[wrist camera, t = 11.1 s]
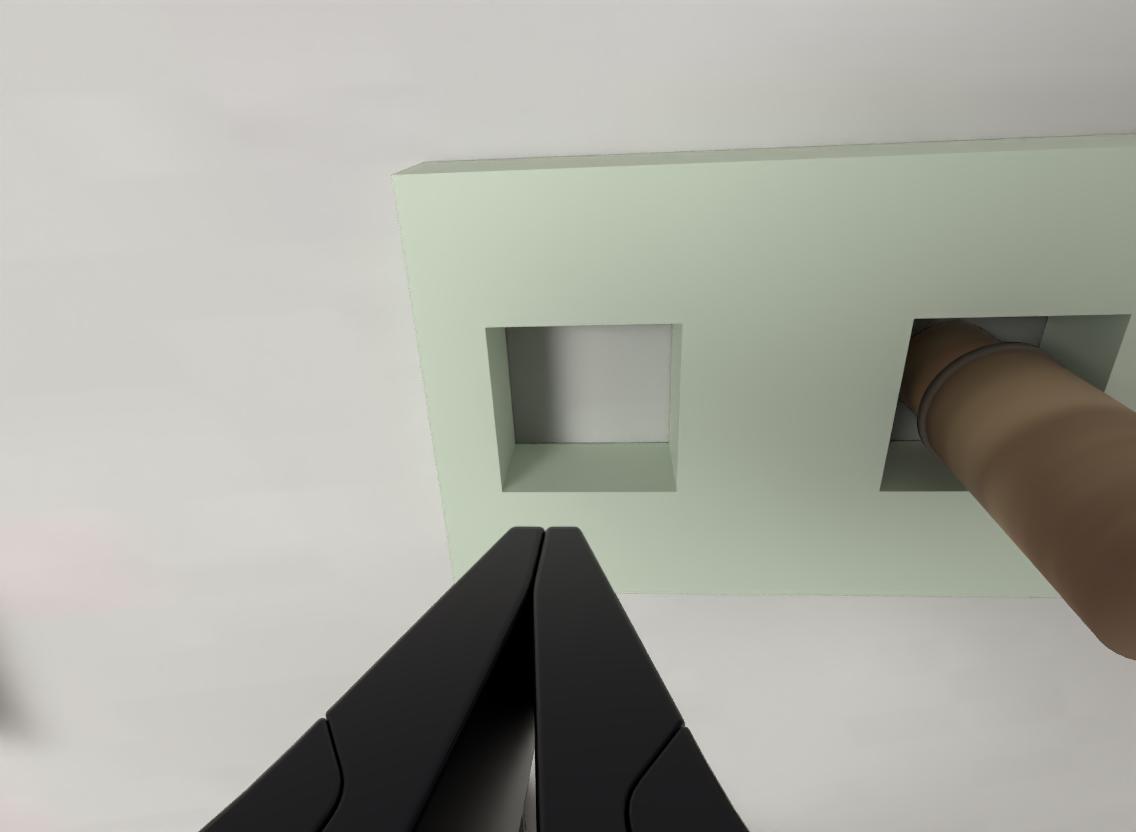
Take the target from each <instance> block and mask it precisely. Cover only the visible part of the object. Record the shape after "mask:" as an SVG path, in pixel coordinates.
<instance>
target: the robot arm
mask: <svg viewBox="0 0 1136 832" xmlns="http://www.w3.org/2000/svg"><path fill="white" fill-rule="evenodd" d="M326 720H327V721H326ZM534 749H535V779H536V825H537V832H750V831H749V830H748V828H747V827H746V825H745V824H744V822H743V821H742V819H741V818H740V816H739V815H738V813H737V812H736V810H735V809H734V807H733V805H732V804H731V802H730V800H729V799H728V797H727V795H726V794H725V792H724V790H723V788H722V787H721V785H720V783H719V782H718V780H717V778H716V776H715V775H714V773H713V771H712V770H711V768H710V766H709V765H708V763H707V761H706V759H705V758H704V756H703V754H702V752H701V750H700V748H699V746H698V745H697V743H696V741H695V739H694V737H693V735H692V733H691V732H690V730H689V729H688V728H687V727H685V722H684V719H683V718H682V716H681V714H680V712H679V710H678V708H677V707H676V705H675V703H674V701H673V699H672V697H671V695H670V694H669V692H668V690H667V688H666V686H665V684H664V682H663V681H662V679H661V677H660V675H659V673H658V671H657V670H656V668H655V666H654V664H653V662H652V660H651V658H650V657H649V655H648V653H647V651H646V649H645V647H644V645H643V644H642V642H641V640H640V638H639V636H638V634H637V633H636V631H635V629H634V627H633V625H632V623H631V621H630V620H629V618H628V616H627V614H626V612H625V610H624V608H623V607H622V605H621V603H620V601H619V599H618V597H617V596H616V594H615V592H614V590H613V588H612V586H611V584H610V583H609V581H608V579H607V577H606V575H605V573H604V571H603V570H602V568H601V566H600V564H599V562H598V560H597V559H596V557H595V555H594V553H593V551H592V549H591V547H590V546H589V544H588V542H587V540H586V538H585V536H584V534H583V533H582V531H581V530H580V528H578V527H575V526H552V527H549V528H547V529H546V531H545V530H544V528H542V527H539V526H516V527H512V528H510V529H509V530H508V531H507V532H506V533H505V534H504V535H503V536H502V537H501V538H500V539H499V540H498V541H497V542H496V543H495V544H494V545H493V546H492V547H491V548H490V549H489V550H488V551H487V552H486V553H485V554H484V555H483V556H482V557H481V558H480V559H479V560H478V561H477V562H476V563H475V564H474V565H473V566H472V567H471V568H470V569H469V570H468V571H467V572H466V573H465V574H464V575H463V576H462V577H461V578H460V579H459V580H458V581H457V582H456V583H455V584H454V585H453V586H452V587H451V588H450V589H449V590H448V591H447V592H446V593H445V594H444V595H443V596H442V597H441V598H440V599H439V600H438V601H437V602H436V603H435V604H434V605H433V606H432V607H431V608H430V609H429V610H428V611H427V612H426V613H425V614H424V615H423V616H422V617H421V618H420V619H419V620H418V621H417V622H416V623H415V624H414V625H413V626H412V627H411V628H410V629H409V630H408V631H407V632H406V633H405V634H404V635H403V636H402V637H401V638H400V639H399V640H398V641H397V642H396V643H395V644H394V645H393V646H392V647H391V648H390V649H389V650H388V651H387V652H386V653H385V654H384V655H383V656H382V657H381V658H380V659H379V660H378V661H377V662H376V663H375V664H374V665H373V666H372V667H371V668H370V669H369V670H368V671H367V672H366V673H365V674H364V675H363V676H362V677H361V678H360V679H359V680H358V681H357V682H356V683H355V684H354V685H353V686H352V687H351V688H350V689H349V690H348V691H347V692H346V693H345V694H344V695H343V696H342V697H341V698H340V699H339V700H338V701H337V702H336V703H335V704H334V705H333V706H332V707H331V708H330V709H329V710H328V711H327V712H326V719H325V718H320V719H319V720H317V721H316V722H315V723H314V724H313V725H312V726H311V727H310V728H309V729H308V730H307V731H306V732H305V733H304V734H303V735H302V736H301V737H300V738H299V739H298V740H297V741H296V742H295V743H294V744H293V745H292V746H291V747H290V748H289V749H288V750H287V751H286V752H285V753H284V754H283V755H282V756H281V757H280V758H279V759H278V760H277V761H276V762H275V763H274V764H273V765H272V766H270V767H269V768H268V769H267V770H266V771H265V772H264V773H263V774H262V775H261V776H260V777H259V778H258V779H257V780H256V781H255V782H254V783H253V784H252V785H251V786H250V787H249V788H247V789H246V790H245V791H244V792H243V793H242V794H241V795H240V796H239V797H237V798H236V799H235V800H234V801H233V802H232V803H231V804H229V805H228V806H227V807H226V808H225V809H224V810H223V811H221V812H220V813H219V814H218V815H217V816H216V817H215V818H214V819H212V820H211V821H210V822H209V823H208V824H207V825H206V826H204V827H203V828H202V829H201V830H200V831H199V832H526V827H525V818H524V809H523V806H524V801H525V796H526V791H527V786H528V780H529V775H530V770H531V765H532V760H533V754H534Z"/></svg>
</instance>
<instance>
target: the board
mask: <svg viewBox="0 0 1136 832" xmlns="http://www.w3.org/2000/svg"><path fill="white" fill-rule="evenodd" d="M391 177H392V183H393V190H394V196H395V203H396V209H397V215H398V222H399V228H400V235H401V241H402V248H403V254H404V261H405V267H406V274H407V280H408V287H409V293H410V300H411V306H412V313H413V319H414V326H415V332H416V339H417V345H418V352H419V358H420V365H421V371H422V378H423V384H424V391H425V397H426V404H427V410H428V417H429V423H430V430H431V436H432V443H433V449H434V456H435V462H436V469H437V475H438V481H439V488H440V494H441V501H442V507H443V514H444V520H445V527H446V533H447V540H448V546H449V553H450V559H451V566H452V572H453V579H454V584H455V583H456V582H457V581H458V580H459V579H460V578H461V577H462V576H463V575H464V574H465V573H466V572H467V571H468V570H469V569H470V568H471V567H472V566H473V565H474V564H475V563H476V562H477V561H478V560H479V559H480V558H481V557H482V556H483V555H484V554H485V553H486V552H487V551H488V550H489V549H490V548H491V547H492V546H493V545H494V544H495V543H496V542H497V541H498V540H499V539H500V538H501V537H502V536H503V535H504V534H505V533H506V532H507V531H508V530H509V529H510V528H512V527H516V526H539V527H542V528H544V530H545V531H546V529H547V528H549V527H552V526H575V527H578V528H580V530H581V531H582V533H583V534H584V536H585V538H586V540H587V542H588V544H589V546H590V547H591V549H592V551H593V553H594V555H595V557H596V559H597V560H598V562H599V564H600V566H601V568H602V570H603V571H604V573H605V575H606V577H607V579H608V581H609V583H610V584H611V586H612V588H613V590H614V592H615V593H624V594H725V595H827V596H929V597H1030V598H1062V597H1061V596H1060V594H1059V593H1058V592H1057V591H1056V590H1055V589H1054V588H1053V586H1052V585H1051V584H1050V583H1049V582H1048V581H1047V580H1046V579H1045V577H1044V576H1043V575H1042V574H1041V573H1040V572H1039V571H1038V569H1037V568H1036V567H1035V566H1034V565H1033V564H1032V563H1031V561H1030V560H1029V559H1028V558H1027V557H1026V556H1025V555H1024V553H1023V552H1022V551H1021V550H1020V549H1019V548H1018V547H1017V545H1016V544H1015V543H1014V542H1013V541H1012V540H1011V539H1010V537H1009V536H1008V535H1007V534H1006V533H1005V532H1004V531H1003V529H1002V528H1001V527H1000V526H999V525H998V524H997V523H996V521H995V520H994V519H993V518H992V517H991V516H990V515H989V514H988V512H987V511H986V510H985V509H984V508H983V507H982V506H981V504H980V503H979V502H978V501H977V500H976V499H975V498H974V496H973V495H972V494H971V493H970V492H969V491H968V490H967V488H966V487H965V486H964V485H963V484H962V483H961V482H960V480H959V479H958V478H957V477H956V476H955V475H954V474H953V472H952V471H951V470H950V469H949V468H948V467H946V466H945V465H943V464H942V463H940V462H939V461H938V460H937V459H935V458H934V457H933V455H932V454H931V453H930V452H929V451H928V450H927V448H926V447H925V446H924V444H923V442H922V441H890V436H891V431H892V426H893V421H894V416H895V411H896V406H897V401H898V396H899V391H900V386H901V381H902V376H903V371H904V366H905V361H906V356H907V351H908V346H909V341H910V336H911V331H912V326H913V321H914V319H923V318H971V317H1019V316H1048V319H1047V323H1046V326H1045V330H1044V333H1043V336H1042V340H1041V343H1040V346H1039V348H1041V349H1043V350H1045V351H1046V352H1048V353H1050V354H1051V355H1053V356H1054V357H1056V358H1057V359H1058V360H1060V361H1061V362H1062V363H1063V364H1064V365H1065V367H1066V368H1067V370H1069V371H1070V372H1072V373H1074V374H1075V375H1077V376H1078V377H1080V378H1082V379H1083V380H1085V381H1086V382H1088V383H1090V384H1091V385H1093V386H1094V387H1096V388H1098V389H1099V390H1101V391H1102V392H1104V393H1106V394H1107V395H1109V396H1110V397H1112V398H1114V399H1115V400H1117V401H1118V402H1120V403H1122V404H1123V405H1125V406H1126V407H1128V408H1130V409H1131V410H1133V411H1134V412H1136V134H1115V135H1090V136H1065V137H1040V138H1015V139H990V140H965V141H940V142H915V143H890V144H865V145H840V146H815V147H790V148H765V149H740V150H715V151H690V152H665V153H640V154H615V155H590V156H565V157H540V158H515V159H490V160H466V161H441V162H423V163H420V164H418V165H415V166H413V167H410V168H408V169H405V170H403V171H400V172H398V173H395V174H393V175H391ZM632 324H672V353H671V386H670V420H669V443H557V444H515V433H514V422H513V411H512V400H511V389H510V377H509V366H508V355H507V344H506V333H505V327H536V326H584V325H632Z"/></svg>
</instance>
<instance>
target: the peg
mask: <svg viewBox="0 0 1136 832" xmlns="http://www.w3.org/2000/svg"><path fill="white" fill-rule="evenodd" d="M899 396H900V398H901V399H902V400H903V401H904V402H905V403H906V404H907V406H908V407H909V408H910V409H911V410H912V411H913V412H914V413H915V414H916V415H917V427H918V433H919V436H920V438H921V441H922V442H923V444H924V446H925V447H926V448H927V450H928V451H929V452H930V453H931V454H932V455H933V457H934V458H935V459H937V460H938V461H939V462H940V463H942V464H943V465H945V466H946V467H948V468H949V469H950V470H951V471H952V472H953V474H954V475H955V476H956V477H957V478H958V479H959V480H960V482H961V483H962V484H963V485H964V486H965V487H966V488H967V490H968V491H969V492H970V493H971V494H972V495H973V496H974V498H975V499H976V500H977V501H978V502H979V503H980V504H981V506H982V507H983V508H984V509H985V510H986V511H987V512H988V514H989V515H990V516H991V517H992V518H993V519H994V520H995V521H996V523H997V524H998V525H999V526H1000V527H1001V528H1002V529H1003V531H1004V532H1005V533H1006V534H1007V535H1008V536H1009V537H1010V539H1011V540H1012V541H1013V542H1014V543H1015V544H1016V545H1017V547H1018V548H1019V549H1020V550H1021V551H1022V552H1023V553H1024V555H1025V556H1026V557H1027V558H1028V559H1029V560H1030V561H1031V563H1032V564H1033V565H1034V566H1035V567H1036V568H1037V569H1038V571H1039V572H1040V573H1041V574H1042V575H1043V576H1044V577H1045V579H1046V580H1047V581H1048V582H1049V583H1050V584H1051V585H1052V586H1053V588H1054V589H1055V590H1056V591H1057V592H1058V593H1059V594H1060V596H1061V597H1062V598H1063V599H1064V600H1065V601H1066V602H1067V604H1068V605H1069V606H1070V607H1071V608H1072V609H1073V610H1074V612H1075V613H1076V614H1077V615H1078V616H1079V617H1080V618H1081V620H1082V621H1083V622H1084V623H1085V624H1086V625H1087V626H1088V628H1089V629H1090V630H1091V631H1092V632H1093V633H1094V634H1095V636H1096V637H1097V638H1098V639H1099V640H1100V641H1101V642H1102V643H1103V644H1104V645H1105V646H1106V647H1108V648H1109V649H1110V650H1112V651H1114V652H1115V653H1117V654H1119V655H1122V656H1124V657H1126V658H1129V659H1133V660H1136V412H1134V411H1133V410H1131V409H1130V408H1128V407H1126V406H1125V405H1123V404H1122V403H1120V402H1118V401H1117V400H1115V399H1114V398H1112V397H1110V396H1109V395H1107V394H1106V393H1104V392H1102V391H1101V390H1099V389H1098V388H1096V387H1094V386H1093V385H1091V384H1090V383H1088V382H1086V381H1085V380H1083V379H1082V378H1080V377H1078V376H1077V375H1075V374H1074V373H1072V372H1070V371H1069V370H1067V368H1066V367H1065V365H1064V364H1063V363H1062V362H1061V361H1060V360H1058V359H1057V358H1056V357H1054V356H1053V355H1051V354H1050V353H1048V352H1046V351H1045V350H1043V349H1041V348H1039V347H1036V346H1033V345H1030V344H1025V343H1019V342H1003V343H1002V342H1000V341H999V340H997V339H996V338H994V337H993V336H991V335H990V334H988V333H987V332H985V331H984V330H982V329H981V328H979V327H977V326H975V325H973V324H969V323H965V322H945V323H940V324H937V325H934V326H932V327H929V328H927V329H925V330H923V331H922V332H920V333H919V334H917V335H916V336H914V337H913V338H912V339H911V340H910V341H909V346H908V351H907V356H906V361H905V366H904V371H903V376H902V381H901V386H900V391H899Z"/></svg>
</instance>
